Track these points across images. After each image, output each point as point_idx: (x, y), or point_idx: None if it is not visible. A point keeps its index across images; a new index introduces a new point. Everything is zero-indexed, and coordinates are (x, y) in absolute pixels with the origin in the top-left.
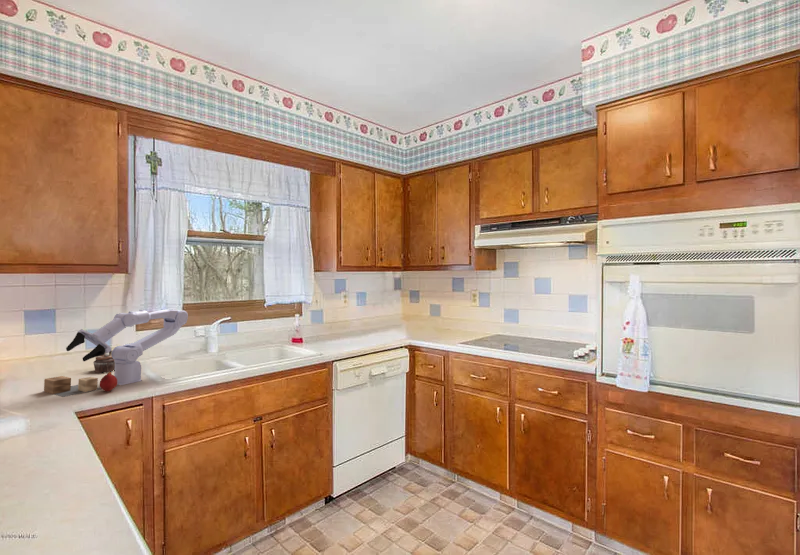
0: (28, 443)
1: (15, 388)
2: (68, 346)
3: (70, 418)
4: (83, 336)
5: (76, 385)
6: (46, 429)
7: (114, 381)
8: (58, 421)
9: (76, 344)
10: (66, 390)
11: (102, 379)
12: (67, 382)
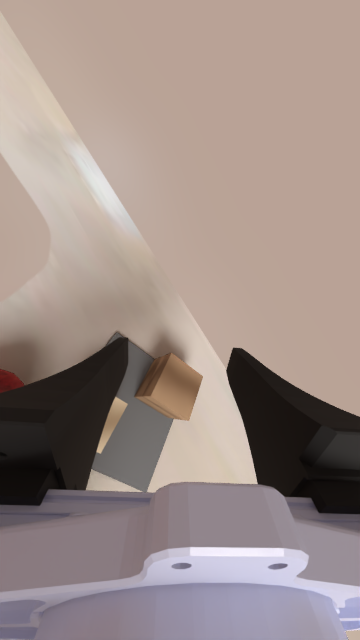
0: (32, 93)
1: None
2: (242, 351)
3: (12, 167)
4: (312, 472)
5: (151, 464)
6: (35, 134)
7: None
8: (33, 164)
9: (250, 413)
10: (140, 386)
11: (2, 377)
12: (149, 386)
